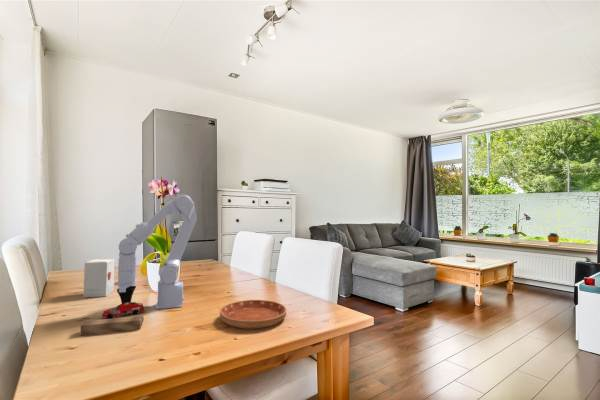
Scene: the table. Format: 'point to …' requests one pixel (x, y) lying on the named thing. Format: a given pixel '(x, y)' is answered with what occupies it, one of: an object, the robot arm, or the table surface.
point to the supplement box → (98, 278)
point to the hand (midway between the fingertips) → (126, 306)
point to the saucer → (253, 313)
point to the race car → (123, 310)
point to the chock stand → (111, 325)
